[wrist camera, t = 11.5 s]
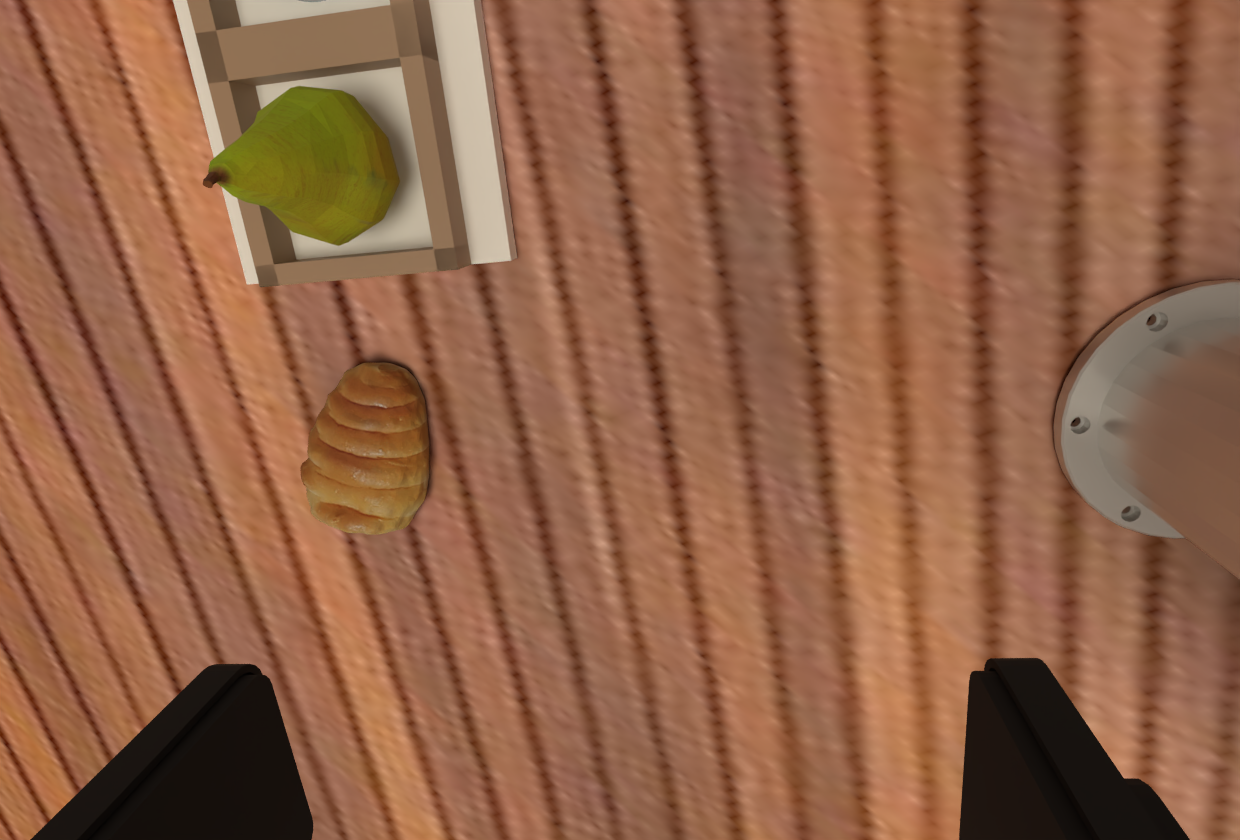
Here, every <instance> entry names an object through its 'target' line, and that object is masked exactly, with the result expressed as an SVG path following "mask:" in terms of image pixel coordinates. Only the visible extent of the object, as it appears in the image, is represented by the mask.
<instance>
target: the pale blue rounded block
mask: <svg viewBox="0 0 1240 840" xmlns="http://www.w3.org/2000/svg"><path fill="white" fill-rule="evenodd" d="M299 1H303V2H321V1H326V0H299Z"/></svg>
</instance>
